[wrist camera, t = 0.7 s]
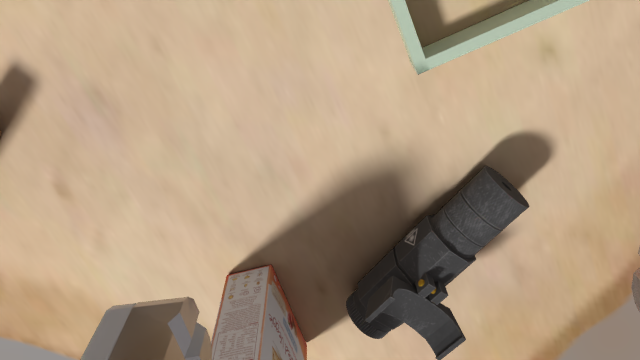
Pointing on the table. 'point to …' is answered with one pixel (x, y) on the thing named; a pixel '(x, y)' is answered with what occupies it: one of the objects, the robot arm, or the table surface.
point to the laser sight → (434, 264)
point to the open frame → (472, 31)
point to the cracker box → (256, 320)
